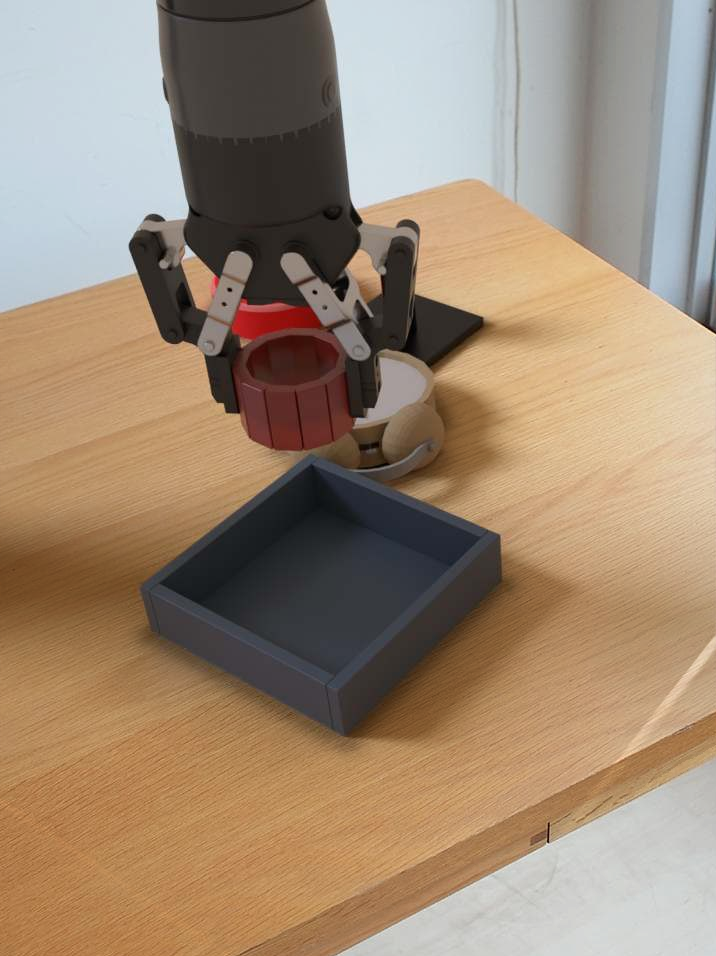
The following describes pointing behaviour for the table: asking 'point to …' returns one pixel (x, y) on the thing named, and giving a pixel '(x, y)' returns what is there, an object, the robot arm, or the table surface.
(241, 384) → the ring
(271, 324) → the decorative ornament
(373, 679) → the box
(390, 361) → the alarm clock
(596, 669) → the table surface
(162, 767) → the table surface
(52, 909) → the table surface
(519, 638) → the table surface
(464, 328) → the post
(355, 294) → the robot arm
